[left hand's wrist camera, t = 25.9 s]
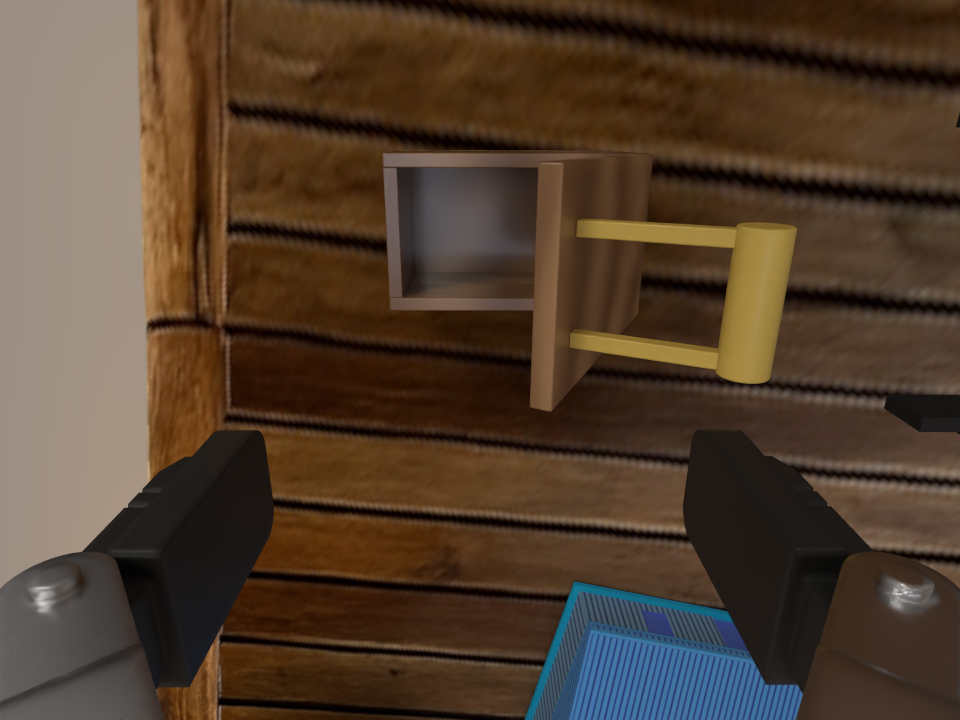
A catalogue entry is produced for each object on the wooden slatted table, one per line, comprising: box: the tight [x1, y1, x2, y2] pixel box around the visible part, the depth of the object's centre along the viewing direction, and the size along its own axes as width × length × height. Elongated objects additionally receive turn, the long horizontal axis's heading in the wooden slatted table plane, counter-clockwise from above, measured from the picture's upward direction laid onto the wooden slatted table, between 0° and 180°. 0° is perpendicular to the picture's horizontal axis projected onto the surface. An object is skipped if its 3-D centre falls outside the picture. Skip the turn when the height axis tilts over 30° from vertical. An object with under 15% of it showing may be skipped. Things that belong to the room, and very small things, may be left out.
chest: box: [382, 150, 641, 311], centre depth 43 cm, size 16×10×9 cm, turn 90°
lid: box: [530, 154, 797, 411], centre depth 29 cm, size 17×10×9 cm
